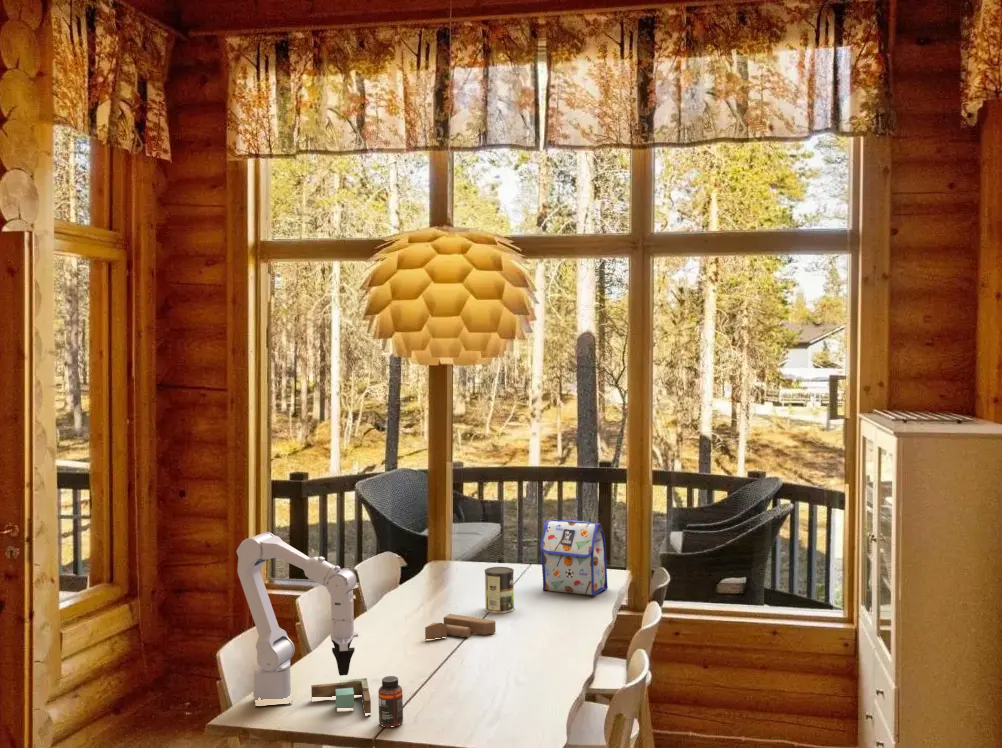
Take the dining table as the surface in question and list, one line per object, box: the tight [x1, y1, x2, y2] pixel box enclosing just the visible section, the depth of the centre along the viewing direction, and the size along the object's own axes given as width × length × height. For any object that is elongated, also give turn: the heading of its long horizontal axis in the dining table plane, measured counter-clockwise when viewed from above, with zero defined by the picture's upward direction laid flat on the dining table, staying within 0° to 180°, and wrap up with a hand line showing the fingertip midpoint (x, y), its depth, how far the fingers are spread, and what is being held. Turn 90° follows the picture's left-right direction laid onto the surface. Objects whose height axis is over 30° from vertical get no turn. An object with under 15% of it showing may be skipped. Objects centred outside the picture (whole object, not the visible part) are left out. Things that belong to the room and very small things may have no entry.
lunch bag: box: [539, 518, 609, 597], centre depth 344 cm, size 23×17×27 cm
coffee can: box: [484, 566, 515, 614], centre depth 321 cm, size 10×10×14 cm
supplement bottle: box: [377, 675, 404, 728], centre depth 224 cm, size 6×6×11 cm
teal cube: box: [335, 688, 355, 709], centre depth 234 cm, size 4×4×4 cm
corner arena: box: [310, 677, 372, 714], centre depth 234 cm, size 14×14×5 cm
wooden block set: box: [424, 613, 497, 641], centre depth 291 cm, size 17×6×18 cm
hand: (343, 669), depth 234 cm, fingers open, 7 cm apart
